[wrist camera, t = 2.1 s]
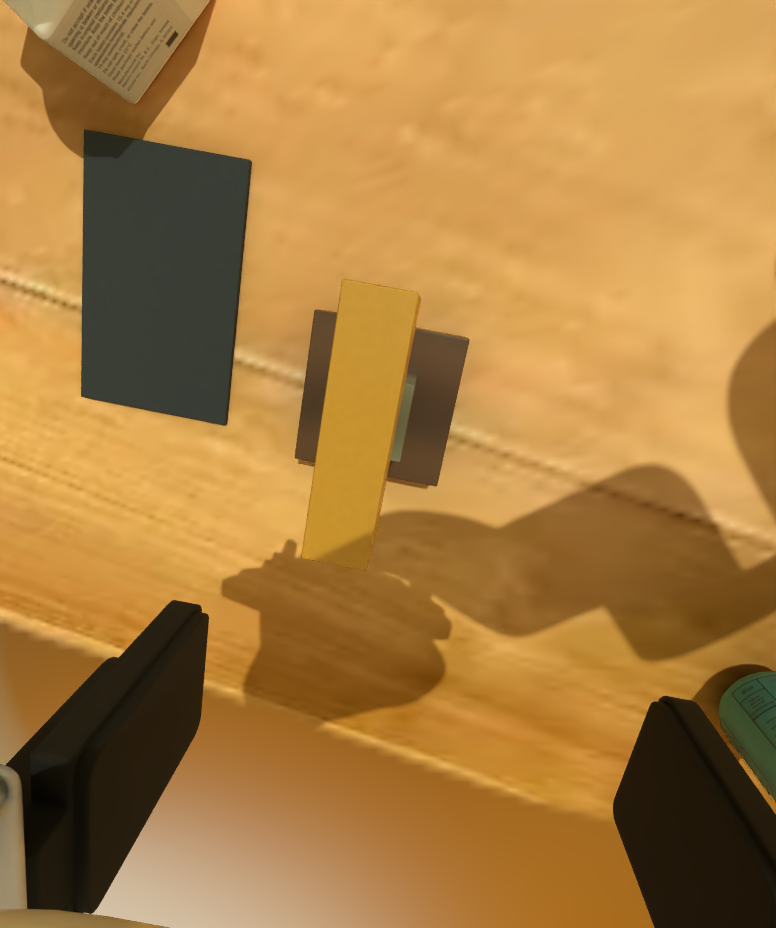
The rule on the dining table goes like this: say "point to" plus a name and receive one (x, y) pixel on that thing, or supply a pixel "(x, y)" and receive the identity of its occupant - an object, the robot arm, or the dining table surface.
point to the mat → (161, 274)
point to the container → (113, 35)
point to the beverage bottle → (753, 724)
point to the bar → (359, 421)
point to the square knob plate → (421, 406)
